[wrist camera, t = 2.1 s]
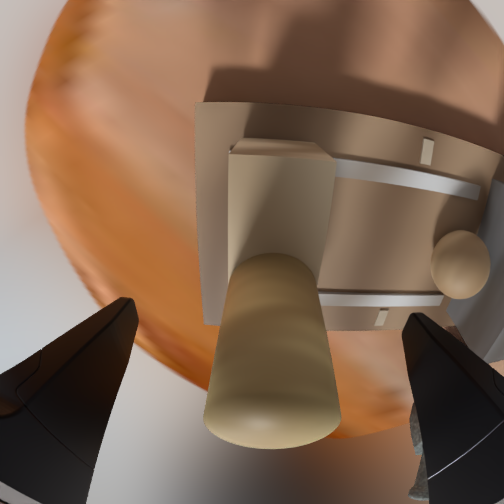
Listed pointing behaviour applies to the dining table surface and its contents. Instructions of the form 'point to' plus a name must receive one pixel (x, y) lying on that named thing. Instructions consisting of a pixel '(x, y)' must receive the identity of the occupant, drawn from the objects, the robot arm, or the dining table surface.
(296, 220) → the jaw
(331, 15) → the dining table surface
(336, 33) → the dining table surface
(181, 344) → the dining table surface
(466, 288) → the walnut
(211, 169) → the base
